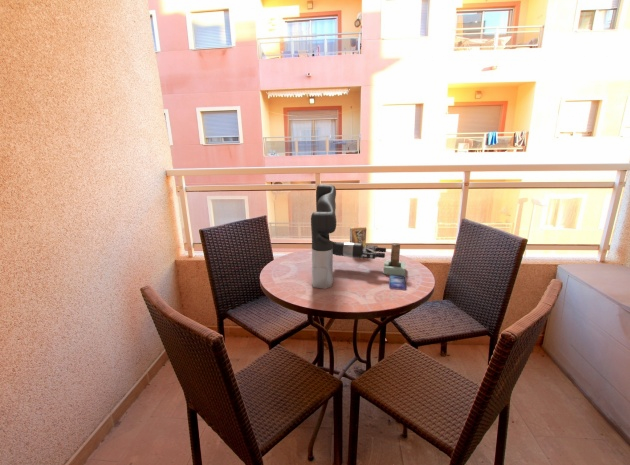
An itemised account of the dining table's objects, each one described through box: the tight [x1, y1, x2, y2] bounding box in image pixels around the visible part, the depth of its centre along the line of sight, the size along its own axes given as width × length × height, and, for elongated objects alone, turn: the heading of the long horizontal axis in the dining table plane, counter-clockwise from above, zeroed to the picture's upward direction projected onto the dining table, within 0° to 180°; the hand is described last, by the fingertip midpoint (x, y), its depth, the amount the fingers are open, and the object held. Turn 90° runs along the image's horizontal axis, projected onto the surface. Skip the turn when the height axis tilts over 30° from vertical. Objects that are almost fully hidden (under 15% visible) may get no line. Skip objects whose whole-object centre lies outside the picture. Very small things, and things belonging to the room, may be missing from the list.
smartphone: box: [388, 274, 407, 291], centre depth 134 cm, size 7×1×15 cm
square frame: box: [383, 260, 406, 277], centre depth 146 cm, size 10×10×4 cm
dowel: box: [390, 242, 401, 267], centre depth 145 cm, size 4×4×14 cm
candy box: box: [349, 226, 367, 247], centre depth 174 cm, size 9×4×15 cm, turn 103°
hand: (385, 252), depth 145 cm, fingers open, 8 cm apart
